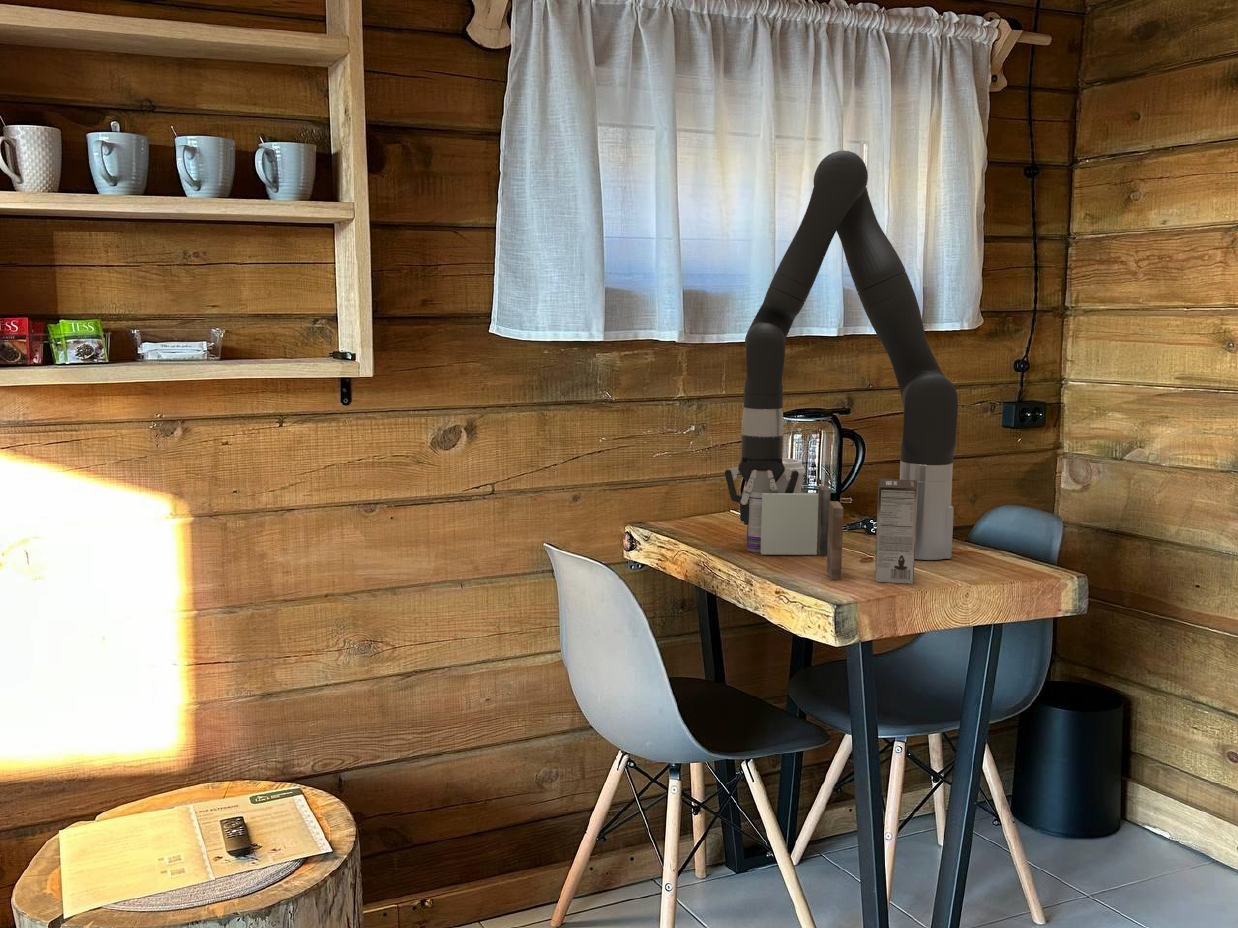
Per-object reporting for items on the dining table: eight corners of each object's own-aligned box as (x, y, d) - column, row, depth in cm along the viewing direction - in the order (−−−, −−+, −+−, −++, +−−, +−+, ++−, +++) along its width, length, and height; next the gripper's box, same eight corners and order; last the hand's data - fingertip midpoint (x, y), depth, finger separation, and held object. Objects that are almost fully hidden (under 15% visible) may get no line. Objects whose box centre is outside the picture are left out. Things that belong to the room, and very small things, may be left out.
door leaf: (815, 553, 218) (817, 493, 216) (816, 554, 216) (818, 494, 215) (760, 553, 217) (762, 493, 216) (761, 554, 216) (763, 494, 214)
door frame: (825, 549, 222) (827, 486, 220) (840, 579, 198) (843, 508, 197) (816, 549, 222) (818, 485, 220) (831, 579, 198) (833, 508, 197)
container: (755, 546, 224) (757, 467, 222) (776, 549, 222) (779, 469, 219) (741, 550, 221) (743, 469, 219) (763, 553, 218) (765, 472, 216)
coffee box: (874, 570, 206) (878, 477, 204) (912, 572, 204) (916, 479, 202) (874, 582, 197) (878, 485, 195) (914, 584, 196) (919, 487, 193)
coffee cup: (803, 542, 229) (805, 464, 227) (753, 540, 230) (755, 463, 228) (803, 532, 238) (805, 458, 236) (755, 530, 240) (757, 456, 238)
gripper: (800, 431, 222) (797, 521, 224) (722, 429, 222) (720, 519, 225) (803, 435, 214) (800, 529, 216) (723, 434, 215) (721, 527, 217)
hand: (759, 523), depth 221 cm, fingers closed on container, 4 cm apart
